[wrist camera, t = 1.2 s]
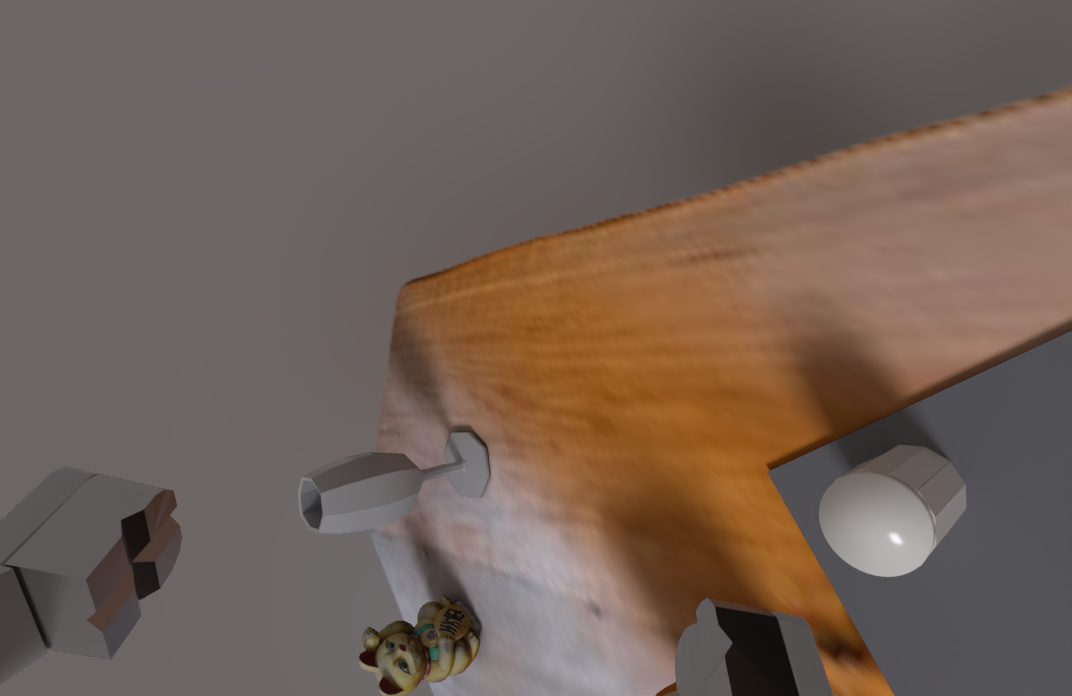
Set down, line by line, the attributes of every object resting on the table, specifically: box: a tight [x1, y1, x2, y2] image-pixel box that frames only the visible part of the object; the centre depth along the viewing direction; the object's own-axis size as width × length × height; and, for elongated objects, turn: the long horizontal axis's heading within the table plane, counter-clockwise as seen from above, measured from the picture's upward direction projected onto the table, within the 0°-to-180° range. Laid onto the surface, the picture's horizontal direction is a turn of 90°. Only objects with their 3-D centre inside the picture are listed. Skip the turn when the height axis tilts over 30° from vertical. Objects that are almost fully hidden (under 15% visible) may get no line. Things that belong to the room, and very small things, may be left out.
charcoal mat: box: [768, 331, 1072, 696], centre depth 39 cm, size 22×20×1 cm
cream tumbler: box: [819, 445, 966, 577], centre depth 39 cm, size 6×6×9 cm
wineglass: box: [298, 432, 490, 533], centre depth 70 cm, size 9×9×21 cm
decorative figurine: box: [358, 595, 481, 696], centre depth 75 cm, size 10×8×15 cm
